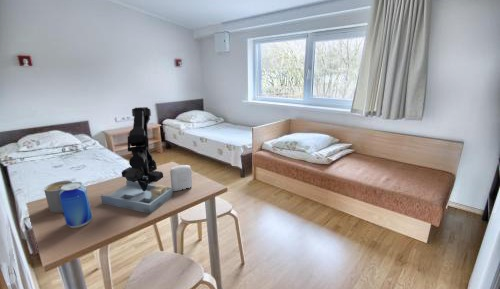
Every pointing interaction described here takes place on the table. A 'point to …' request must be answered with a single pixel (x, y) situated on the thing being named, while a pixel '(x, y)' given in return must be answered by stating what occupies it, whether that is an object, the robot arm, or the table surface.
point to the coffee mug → (54, 196)
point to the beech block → (158, 191)
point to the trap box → (136, 198)
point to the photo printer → (181, 177)
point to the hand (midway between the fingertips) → (144, 190)
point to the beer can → (75, 204)
